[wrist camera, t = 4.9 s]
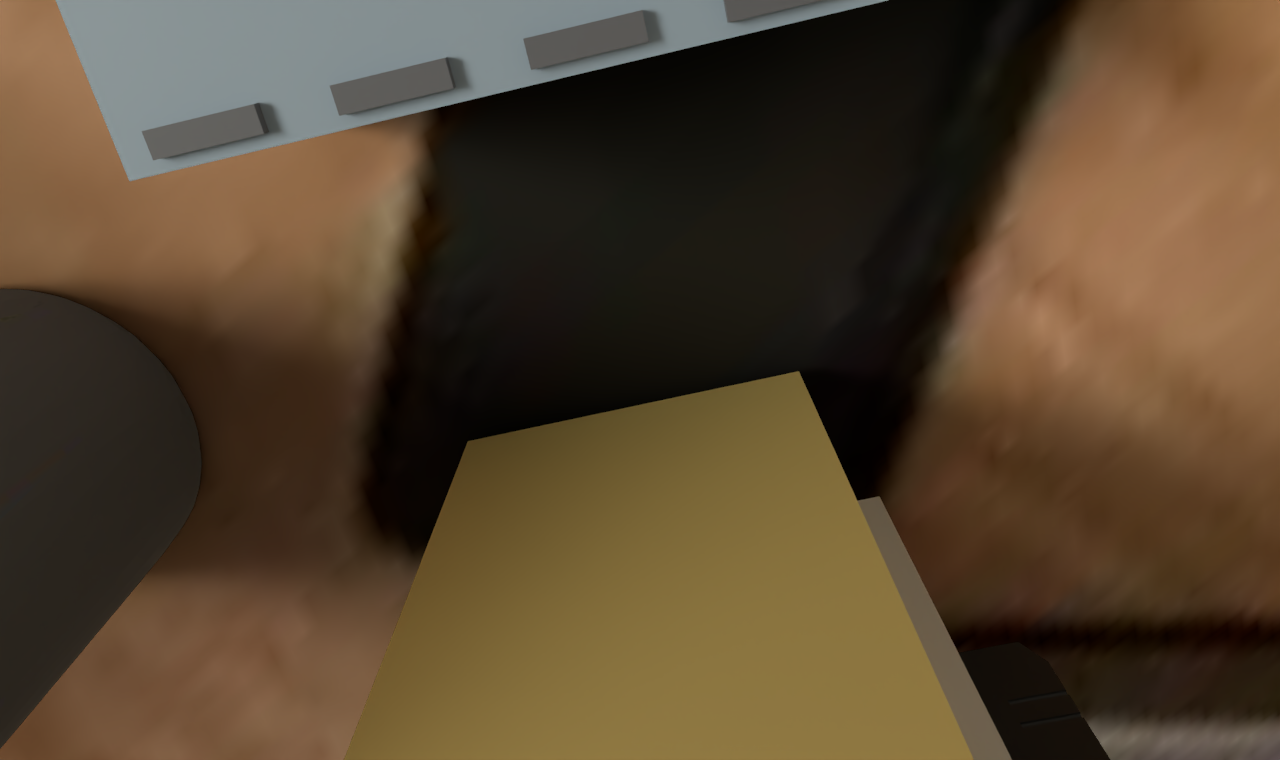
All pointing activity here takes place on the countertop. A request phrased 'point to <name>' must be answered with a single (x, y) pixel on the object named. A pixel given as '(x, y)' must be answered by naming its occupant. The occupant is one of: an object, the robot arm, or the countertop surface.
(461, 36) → the slotted gray box
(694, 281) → the countertop surface
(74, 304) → the bottle
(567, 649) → the yellow box
